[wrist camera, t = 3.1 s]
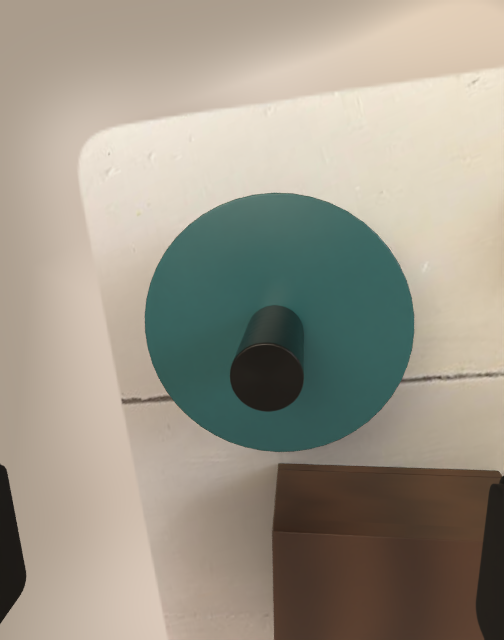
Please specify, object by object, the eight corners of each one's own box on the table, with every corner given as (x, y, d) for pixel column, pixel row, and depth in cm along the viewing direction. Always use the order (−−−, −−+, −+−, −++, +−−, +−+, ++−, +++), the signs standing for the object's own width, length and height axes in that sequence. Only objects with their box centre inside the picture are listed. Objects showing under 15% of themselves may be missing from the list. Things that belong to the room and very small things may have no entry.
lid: (161, 437, 25) (113, 521, 19) (140, 196, 22) (73, 198, 15) (401, 444, 24) (437, 537, 17) (417, 188, 20) (469, 188, 14)
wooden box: (280, 628, 38) (275, 724, 31) (278, 463, 34) (271, 531, 27) (477, 643, 36) (516, 747, 29) (498, 470, 32) (550, 545, 25)
